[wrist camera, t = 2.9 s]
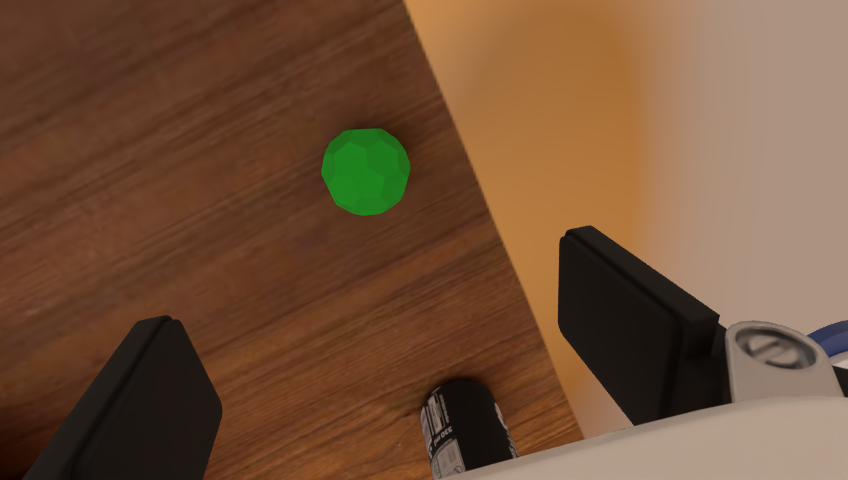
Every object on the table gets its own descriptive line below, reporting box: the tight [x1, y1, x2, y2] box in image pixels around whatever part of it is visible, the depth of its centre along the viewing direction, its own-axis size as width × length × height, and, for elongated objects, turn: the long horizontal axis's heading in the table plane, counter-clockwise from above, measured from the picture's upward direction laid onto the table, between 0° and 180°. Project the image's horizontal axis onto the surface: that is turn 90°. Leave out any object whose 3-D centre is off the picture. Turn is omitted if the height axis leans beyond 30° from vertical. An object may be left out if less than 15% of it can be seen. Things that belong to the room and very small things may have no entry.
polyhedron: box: [321, 129, 411, 216], centre depth 23 cm, size 5×5×5 cm
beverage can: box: [420, 380, 520, 480], centre depth 30 cm, size 7×7×12 cm
